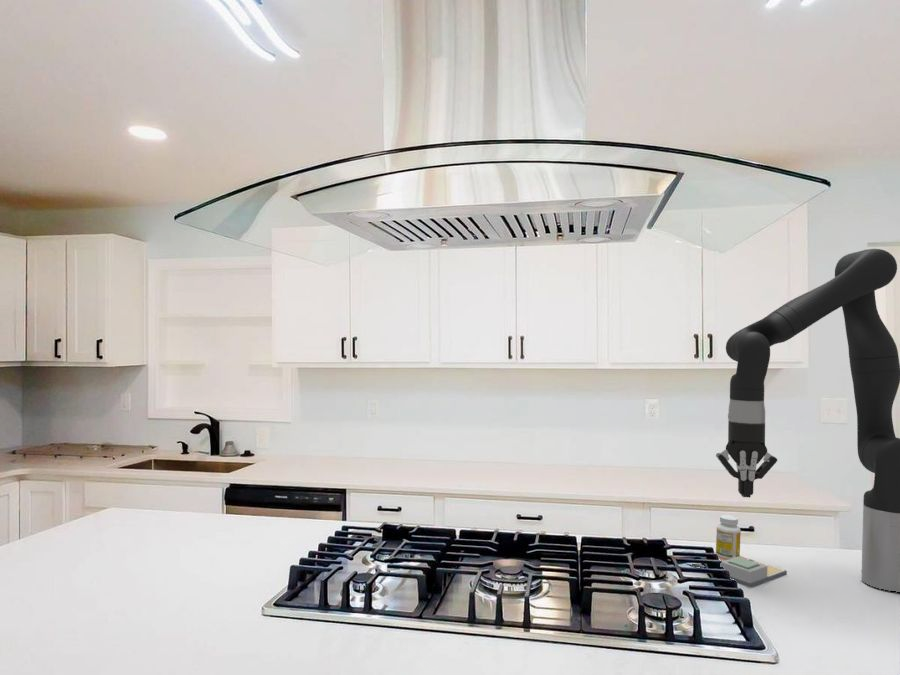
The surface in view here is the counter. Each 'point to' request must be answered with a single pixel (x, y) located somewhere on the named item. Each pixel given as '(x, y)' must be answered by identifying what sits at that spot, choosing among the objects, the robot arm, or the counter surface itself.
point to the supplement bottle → (728, 537)
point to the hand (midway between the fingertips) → (745, 496)
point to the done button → (744, 563)
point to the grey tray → (750, 572)
